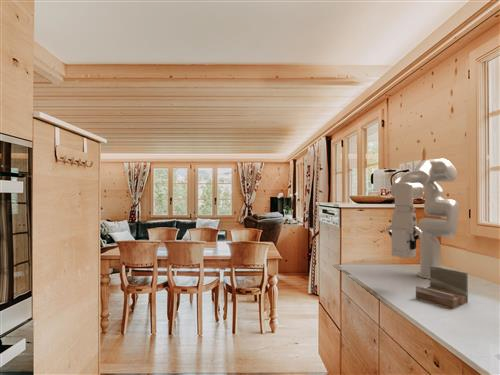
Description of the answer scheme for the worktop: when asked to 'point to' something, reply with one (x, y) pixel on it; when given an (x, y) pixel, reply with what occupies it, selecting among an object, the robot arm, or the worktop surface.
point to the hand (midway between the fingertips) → (403, 247)
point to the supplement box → (402, 244)
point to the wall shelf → (445, 287)
